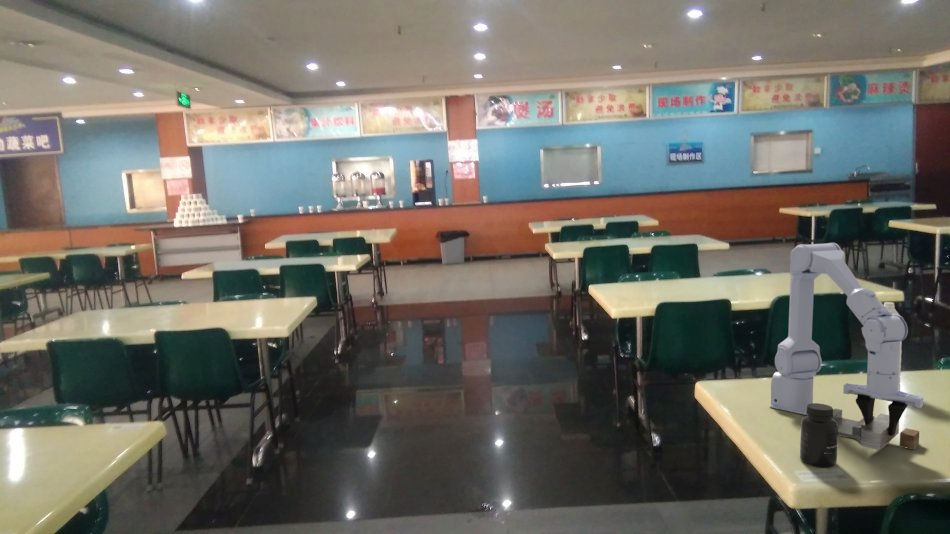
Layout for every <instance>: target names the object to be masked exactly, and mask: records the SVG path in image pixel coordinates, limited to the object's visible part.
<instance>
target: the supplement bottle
mask: <svg viewBox="0 0 950 534" xmlns="http://www.w3.org/2000/svg"><path fill="white" fill-rule="evenodd" d="M833 410H834V408H833V407H832V406H831V405H828V404H825V403H814V402H813V403H811V404H808V405H807V411H806V414H807V415H805V416H804V417H803V418H802V419H801V421H800V439H799V440H800V443H799V445H800V447H799V458H800V460H801V462H803V463H804V464H806V465H808V466H812V467H815V468H819V469H820V468H821V469H829V468H830V469H831V468H833V467H836V465H837V463H838V461H837V460H838V438H839V437H838V436H839V435H838V425H837V423H836V422H835V421H834V420H833V419H832V418H833Z"/></svg>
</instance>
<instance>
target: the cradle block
mask: <svg viewBox="0 0 950 534" xmlns="http://www.w3.org/2000/svg"><path fill="white" fill-rule="evenodd" d="M875 418H876V417H875V416H874V415H873V420H874V419H875ZM832 419H833V420H834V421H835V422H836V423H837V425H838V436H840V435H841V437H844V436H845V438H848V437H850V438H849V439H853V438H855V439H854V440H857V439H858V440H857V441H861V429H862V428H863V426H862V425H861V424H863V423H864V422H865V421H864V418H863V417H862V418H861V419H860V420H859V421H858V420H854V419H848V418H845V417H843V409H839V408H833V418H832Z"/></svg>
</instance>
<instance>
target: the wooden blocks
mask: <svg viewBox="0 0 950 534" xmlns="http://www.w3.org/2000/svg"><path fill="white" fill-rule="evenodd" d="M861 425H862V426H863V428H864V427H865V426H866V425H865V422H864V423H863V424H861ZM919 444H920V430H917V429H912V428H908V427H906V428H904V429H902V431H901V432H899V447H901V446H902V448H905V447H907V448H906V449H910V448H911V449H910V450H915V449H914V448H915V447H916V448H917V447H918V446H919Z"/></svg>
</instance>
